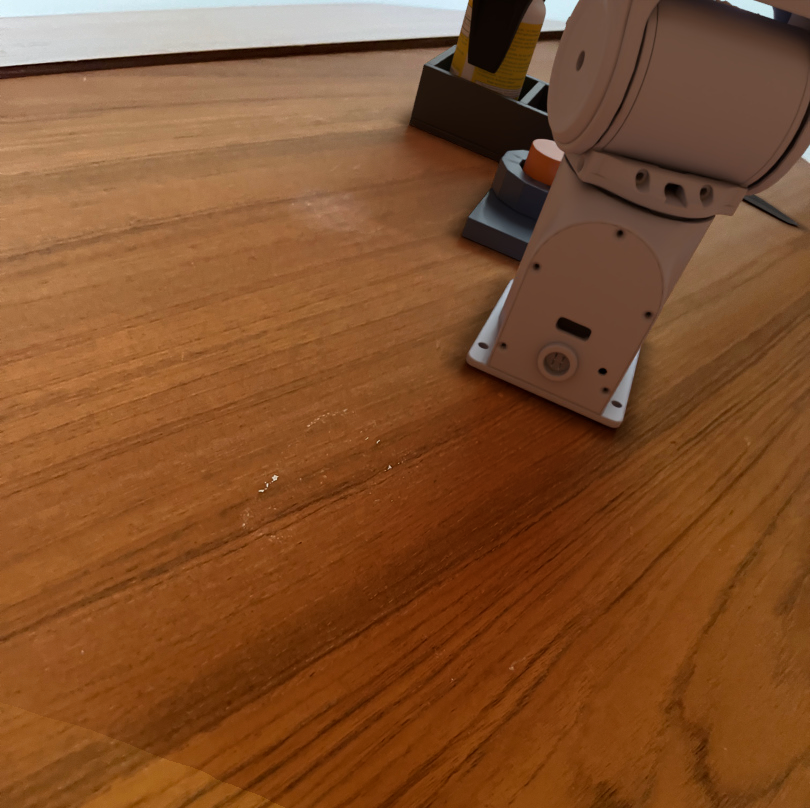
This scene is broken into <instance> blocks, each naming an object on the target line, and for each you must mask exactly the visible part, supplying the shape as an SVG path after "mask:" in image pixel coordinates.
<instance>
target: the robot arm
mask: <svg viewBox="0 0 810 808" xmlns="http://www.w3.org/2000/svg"><path fill="white" fill-rule="evenodd" d="M532 1H533V0H473V1H472V14H471V24H470V33H469V44H468V63H469V64H471V65H473V66H476V67H478V68H481V69H483V70H485V71H488V72H490V73H493V74H495V73H496V72H497V70H498V69H499V67H500V65H501V64H502V62H503V60H504V58H505V56H506V54H507V52H508V50H509V48H510V46H511V44H512V41H513V39H514V37H515V34H516V32H517V30H518V28H519V25H520V23H521V21H522V19H523V17H524V15H525V13H526V11H527V10H528V8H529V6H530V4H531V2H532ZM546 1H547V0H543V2H544V3H546ZM753 1H754V2H758V3H761V4H763V5H767V6H770V7H771V8H772V12H773V14H772V15H773V16H772V17H773V18H772V17H769V16H766V15H762V14H760V13H759V14H757V13H756V12H753V11H751V10H747V9H744V8H741V7H739V6H737V7H735V6H736V5H734V6H732V5H733V4H732V5H729V4H726V3H722V2H719V1H716V0H578V1H577V3H576V4H575V7H574V8H573V10H572V12H571V14H570V16H569V17H570V18H569V20H568V22H567V25H566V24H565V27H564V29H563V32H562V35H561V37H560V39H559V42H558V43H559V44H558V46H557V49H556V53H555V56H554V60H553V64H552V67H551V72H550V78H549V82H548V83H549V89H548V99H547V114H548V121H549V125H550V128H551V130H552V134H553V138H554V141H555V143H556V145H557V147H558V148H559V149H560V150H561V151H563V152H564V155H563V158H562V160H561V163H560V165H559V168H558V170H557V173H556V175H555V178H554V180H553V183H552V185H551V188H550V190H549V193H548V195H547V198H546V200H545V203H544V205H543V208H542V210H541V213H540V215H539V218H538V220H537V223H536V225H535V228H534V230H533V233H532V235H531V238H530V240H529V243H528V245H527V248H526V250H525V253H524V255H523V258H522V260H521V261H520V262H519V265H518V268H517V270H516V273H515V276H514V278H512V279H510V280H509V281H508V283H507V285H506V286H505V289H504V291H503V292H502V293H501V295H500V297H499V299H498V301H497V302H496V304H495V305H494V307H493V309H492V310H491V313H490V314H489V315H488V318H487V320H486V321H485V323H484V324H483V326H482V328H481V329H480V331H479V333H478V335H477V336H476V338H475V340H474V341H473V343H472V345H471V346H470V348H469V350H467V351H468V352H467V354H466V357H465V361H466V363H467V364H468V365H469V366H470V367H472V368H475V369H477V370H479V371H481V372H484V373H486V374H488V375H491V376H493V377H495V378H497V379H499V380H501V381H504V382H507V383H509V384H511V385H513V386H515V387H518V388H520V389H523V390H524V391H527V392H529V393H531V394H534V395H536V396H537V397H541V398H543V399H545V400H547V401H548V402H552V403H554V404H557V405H558V406H561V407H563V408H565V409H568V410H570V411H572V412H574V413H577V414H578V415H581V416H584V417H586V418H588V419H591V420H593V421H594V422H597V423H599V424H601V425H604V426H606V427H608V428H612V429H617V428H620V425H622V423H623V421H624V419H625V413H626V409H627V406H628V402H629V398H630V395H631V390H632V386H633V381H634V377H635V373H636V370H637V365H638V361H639V357H640V352H641V348H642V346H643V344H644V343H645V340H646V339H647V337H648V335H649V334H650V332H651V330H652V329H653V327H654V325H655V323H656V321H657V320H658V318H659V316H660V315H661V312H662V311H663V308H664V306H665V305H666V303H667V301H668V299H669V298H670V296H671V294H672V293H673V291H674V289H675V287H676V285H677V284H678V282H679V280H680V279H681V277H682V275H683V273H684V271H685V270H686V268H687V267H688V265H689V263H690V261H691V259H692V258H693V256H694V254H695V253H696V251H697V249H698V248H699V247H700V246H699V245H700V244H701V242H702V241H703V239H704V237H705V235H706V233H707V232H708V230H709V228H710V227H711V225H712V223H713V221H714V220H715V218H716V216H717V215H718V216H719V215H720V216H721V215H722V216H727V217H728V216H729V217H732V216H734V215H735V213H736V211H737V209H739V206H740V204H741V203H742V201H743V200H744V196H745V195H757V194H760V193H762V192H764V191H767V190H768V189H770V188H771V187H773V186H774V185H775V184H776V183H778V182H779V181H780V180H781V179H782V178H784V176H786V175H787V174H788V173H789V172H790V171H791V170H792V168H793V167H794V166H795V165H796V164H797V163H798V161H799V160H800V159H801V158H802V157H803V155H804V154H805V153H806V151H807V150H808V149H809V147H810V0H753ZM738 7H739V8H738Z"/></svg>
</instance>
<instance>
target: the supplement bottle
mask: <svg viewBox="0 0 810 808" xmlns="http://www.w3.org/2000/svg"><path fill="white" fill-rule="evenodd" d="M472 1H473V0H468V2H467V5H466V9H465V11H464V15H463V20H462V24H461V26H460V27H461V28H460V31H459V35H458V39H457V43H456V45H457V46H456V49H455V53H454V57H453V61H452V64H451V68H450V71H449V72H450V73H452V74H455V75H457V76H459V77H462V78H464V79H467V80H469V81H471V82H474V83H476V84H478V85H481V86H483V87H486V88H488V89H490V90H493V91H495V92H498V93H500V94H502V95H505V96H507V97H510V98H512V99H514V100H517V101H518V98H519V95H520V92H521V89H522V86H523V83H524V80H525V77H526V74H527V73H528V71H529V68H530V65H531V62H532V60H533V56H534V53H535V50H536V47H537V43H538V41H539V38H540V35H541V32H542V29H543V26H544V23H545V19H546V15H547V8H546V4H545V2H543V0H533V1H532V2H531V4H530V6H529V8H528V10H527V11H526V13H525V15H524V17H523V19H522V21H521V23H520V25H519V28H518V30H517V32H516V34H515V37H514V39H513V41H512V44H511V46H510V48H509V50H508V52H507V54H506V56H505V58H504V60H503V62H502V64H501V65H500V67H499V69H498V70H497V72H496V73H495V74H493V73H490V72H488V71H485V70H483V69H481V68H478V67H476V66H473V65H471V64H469V63H468V44H469V33H470V24H471V14H472Z"/></svg>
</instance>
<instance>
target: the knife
mask: <svg viewBox="0 0 810 808" xmlns="http://www.w3.org/2000/svg"><path fill="white" fill-rule="evenodd" d="M743 200H746V201H747V202H749V203H750V204H753V205H755V206H757V207H759V208H760V209H762V210H763V211H765V212H767V213H769V214H771V215H773V216H775V217H776V218H779V219H780V220H782V221H784V222H786V223H789V224H791V225H795V226H798V227H801V225H800V224H799V223H797V222H796V221H795V220H794V219H792V218H790V216H788V215H786V213H783V212H782V211H780V210H779V209H777V207H775V206H773V205H772V204H771V203H768V202H767V201H766V200H764V199H763V198H761V197H759V196H757V194H754V195H745V196H744V198H743Z"/></svg>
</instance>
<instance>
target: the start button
mask: <svg viewBox="0 0 810 808" xmlns="http://www.w3.org/2000/svg"><path fill="white" fill-rule="evenodd" d="M563 155H564V152H563V151H561V150H560V149H559V148H558V147H557V145H556V143H555V141H551V140H546V139H536V140H534V141H533V142H532V145H531V148H530V150H529V153H528V156H527V159H526V161H525V164H524V167H523V171H524V172H525V173H526V174H527V175H529V176H530V177H532V178H533V179H535V180H537V181H540V182H542V183H544V184H547V185H549V186H551V185H552V183H553V180H554V178H555V175H556V173H557V170H558V168H559V165H560V163H561V160H562V158H563Z"/></svg>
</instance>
